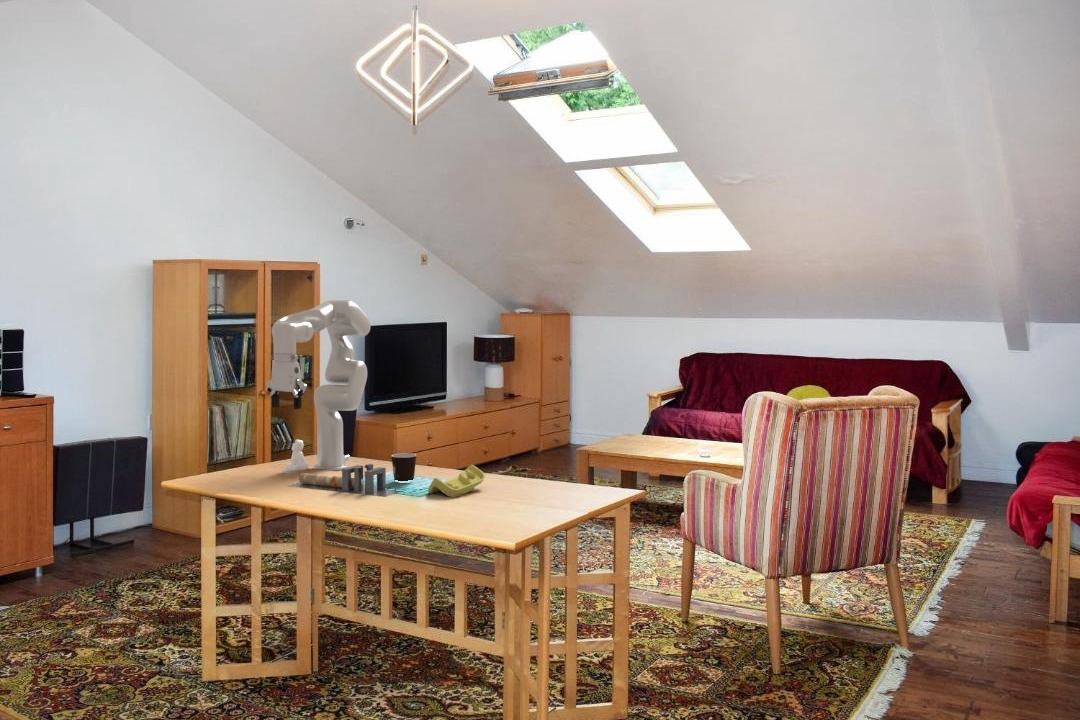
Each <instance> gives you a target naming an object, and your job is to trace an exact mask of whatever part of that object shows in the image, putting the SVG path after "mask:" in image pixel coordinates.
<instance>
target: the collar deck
mask: <svg viewBox="0 0 1080 720" xmlns="http://www.w3.org/2000/svg"><path fill="white" fill-rule="evenodd" d="M364 469H366V470H364ZM386 471H387V470H386V467H383V466H379V467H374V463H368V464H364V465H360V464H356V465H352V466H348V467H347V468H344V469H342V470H341V477H342V488H339V487H330V486H320V485H311V484H301V483H300V482H296V483H293V484H288V485H287V487H290V488H298V489H299V488H300V489H308V490H309V489H310V490H318V491H319V490H320V491H327V492H329V491H330V492H336V493H345V494H355V495H364V496H373V497H383V498H384V497H385V498H386V497H390V496H392V495H395V494H399V493H401V492H403V491H396V490H386V489H385V488H387V484H386V478H387V477H386V473H387V472H386ZM353 473H354V474H353ZM352 474H353V478H354V489H351V478H352ZM374 476H376V487H377V488H374V487H375V482H374V479H375V478H374ZM361 479H362V480H363V481H364V485H363V487H362V489H361Z"/></svg>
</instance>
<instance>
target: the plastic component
mask: <svg viewBox="0 0 1080 720" xmlns="http://www.w3.org/2000/svg"><path fill="white" fill-rule="evenodd" d="M485 478H486V474H485V473H484V471H482V470H481V469H480V468H478V467H477V466H475V465H474V464H470V465H468V466H467V468H465V469H464V470H463V471H461V472H460V473H459V475H458V476H456V477H453V478H451V479H448V480H445V481H442V480H441V479H439V478H438V477H436V478H433V480H432V481H431V483H430V485H429V487H428V489H427V492H428V493H429V494H435V493H437V492H442V493H443V494H445V495H446V496H447V497H450V498H456V497H459V496H462V495H464V494H467V493H470V492H471V491H474V489H475V487H477V486H478V485H481V483H483V481H484V480H485Z"/></svg>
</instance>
